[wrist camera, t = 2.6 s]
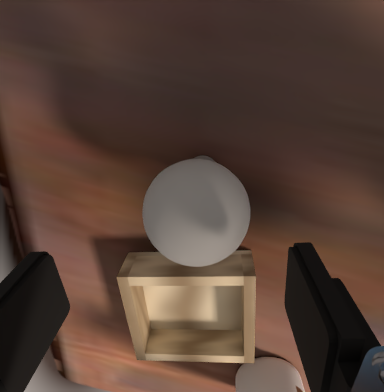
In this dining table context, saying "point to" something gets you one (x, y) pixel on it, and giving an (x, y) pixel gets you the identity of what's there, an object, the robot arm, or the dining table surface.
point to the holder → (190, 308)
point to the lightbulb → (196, 212)
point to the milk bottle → (268, 376)
